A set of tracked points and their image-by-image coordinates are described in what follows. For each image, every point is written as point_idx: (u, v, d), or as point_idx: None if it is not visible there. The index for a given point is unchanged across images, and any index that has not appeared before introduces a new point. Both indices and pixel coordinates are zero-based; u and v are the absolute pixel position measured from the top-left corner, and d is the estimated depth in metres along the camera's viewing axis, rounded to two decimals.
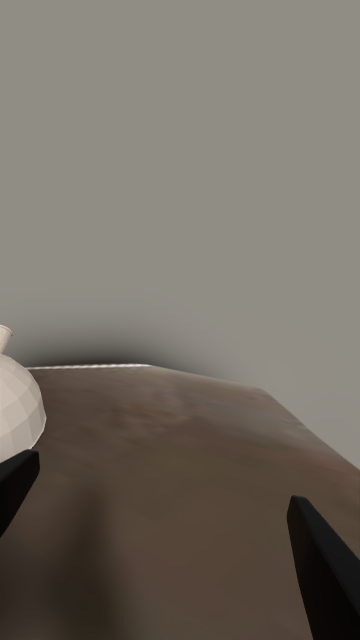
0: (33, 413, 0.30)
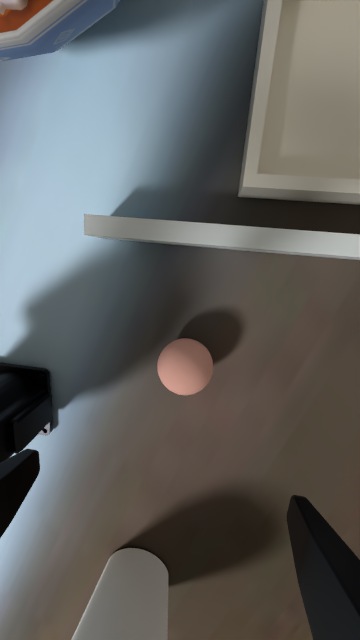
0: None
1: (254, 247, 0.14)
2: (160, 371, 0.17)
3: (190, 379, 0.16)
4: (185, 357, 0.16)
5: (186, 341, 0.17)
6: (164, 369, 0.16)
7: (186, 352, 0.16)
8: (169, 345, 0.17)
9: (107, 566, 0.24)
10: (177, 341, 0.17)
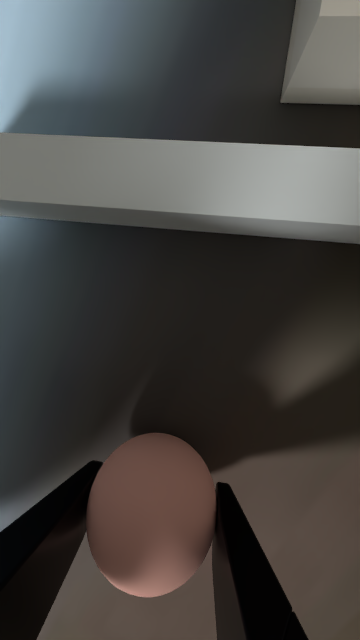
0: None
1: (355, 221, 0.04)
2: (87, 534, 0.07)
3: (156, 582, 0.06)
4: (144, 519, 0.06)
5: (151, 456, 0.07)
6: (93, 540, 0.06)
7: (148, 501, 0.06)
8: (113, 463, 0.07)
9: None
10: (132, 454, 0.07)
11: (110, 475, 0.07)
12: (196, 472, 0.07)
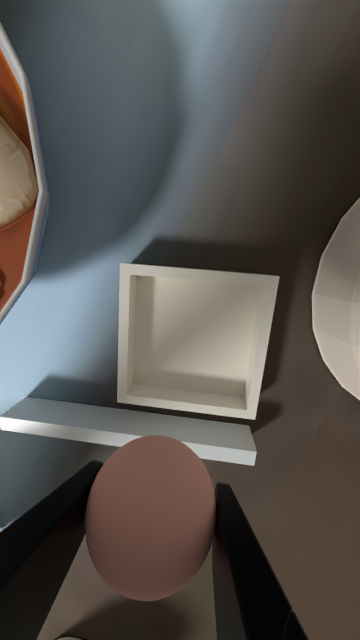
0: None
1: None
2: (86, 538, 0.07)
3: (155, 586, 0.06)
4: (143, 523, 0.06)
5: (151, 459, 0.07)
6: (92, 544, 0.06)
7: (147, 504, 0.06)
8: (112, 466, 0.07)
9: None
10: (131, 457, 0.07)
11: (109, 478, 0.07)
12: (195, 475, 0.07)
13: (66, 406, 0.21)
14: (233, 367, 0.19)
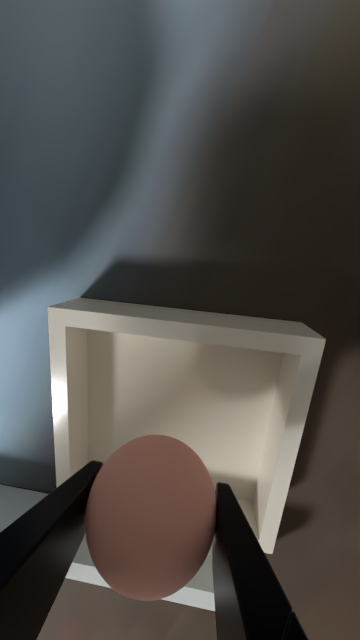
0: None
1: (73, 579, 0.12)
2: (86, 537, 0.07)
3: (156, 585, 0.06)
4: (143, 522, 0.06)
5: (151, 459, 0.07)
6: (92, 544, 0.06)
7: (147, 504, 0.06)
8: (112, 465, 0.07)
9: None
10: (131, 456, 0.07)
11: (109, 477, 0.07)
12: (196, 474, 0.07)
13: None
14: (238, 459, 0.12)
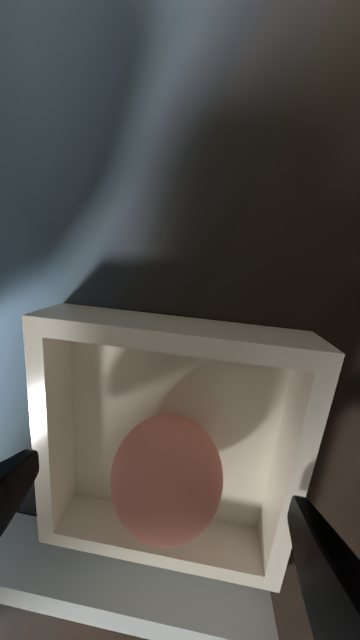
0: None
1: None
2: (115, 505, 0.08)
3: (183, 530, 0.07)
4: (170, 481, 0.07)
5: (168, 431, 0.08)
6: (124, 506, 0.07)
7: (172, 466, 0.07)
8: (133, 441, 0.08)
9: None
10: (150, 431, 0.08)
11: (133, 451, 0.08)
12: (206, 441, 0.08)
13: None
14: (241, 483, 0.11)
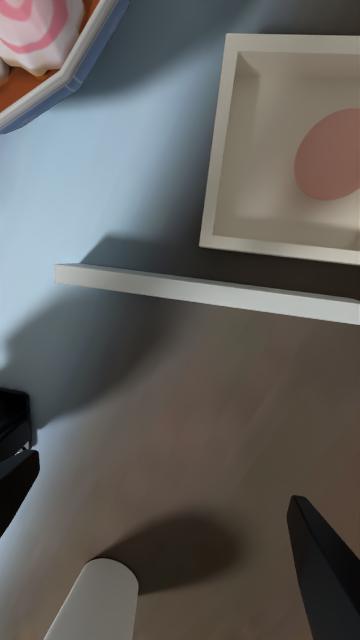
0: None
1: (208, 302, 0.15)
2: (346, 142, 0.11)
3: None
4: None
5: None
6: None
7: None
8: (338, 112, 0.12)
9: (80, 575, 0.26)
10: (343, 109, 0.12)
11: (346, 111, 0.11)
12: None
13: (127, 270, 0.18)
14: (346, 209, 0.15)
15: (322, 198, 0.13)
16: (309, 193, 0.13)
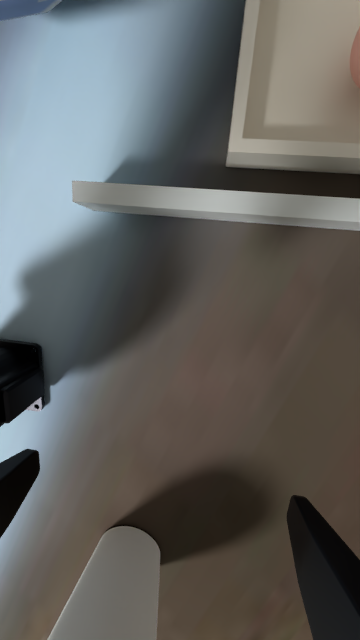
0: None
1: (240, 212, 0.14)
2: None
3: None
4: None
5: None
6: None
7: None
8: None
9: (99, 543, 0.25)
10: None
11: None
12: None
13: None
14: None
15: None
16: None
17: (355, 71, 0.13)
